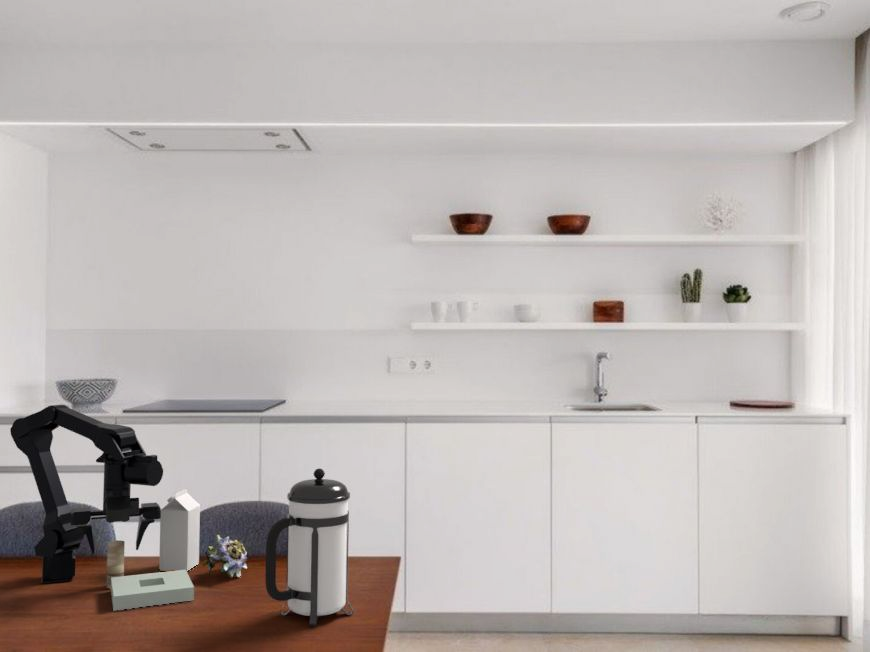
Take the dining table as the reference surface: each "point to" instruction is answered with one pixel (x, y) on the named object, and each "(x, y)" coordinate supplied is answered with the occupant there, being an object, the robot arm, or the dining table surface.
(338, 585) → the coffee press
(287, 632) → the dining table surface
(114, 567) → the peg
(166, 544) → the milk carton
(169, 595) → the board
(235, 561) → the passion flower
